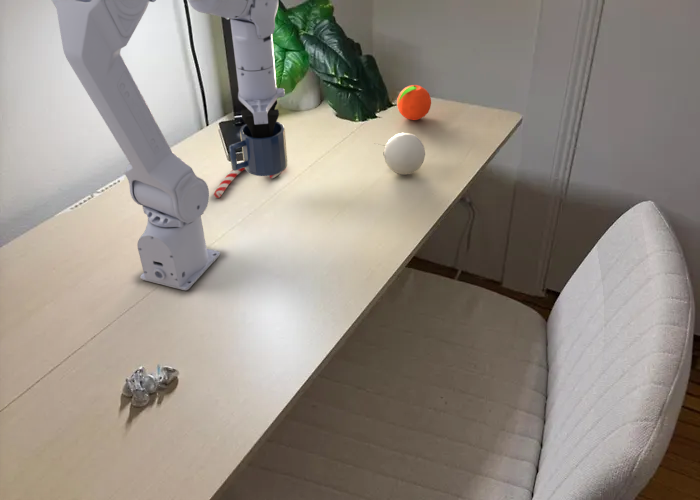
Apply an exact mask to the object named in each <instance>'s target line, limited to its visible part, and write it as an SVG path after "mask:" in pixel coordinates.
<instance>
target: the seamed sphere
mask: <svg viewBox="0 0 700 500" xmlns="http://www.w3.org/2000/svg"><path fill="white" fill-rule="evenodd" d="M373 144H374V145H376V142H375V143H373ZM377 146H381V144H380V143H377ZM382 146H384V149H383V158H384V162H385V164H386V166H387V167H388V168H389V169H390V171H392V172H393V173H395V174H398V175H411V174H413V173H415V172H416V171H418V170H419V169H420V168H421V166H423V164H424V161H425V159H426V148H425V145H424V144H423V142H422V139H420V138H419V137H417V135H416V134H414V133H409V132H401V133H396V134H395V135H393V136H392V137H391V138H389V139H388V140H387V142H386V144H382Z"/></svg>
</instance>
